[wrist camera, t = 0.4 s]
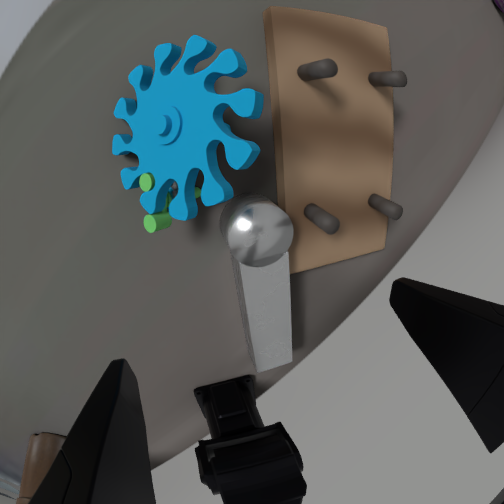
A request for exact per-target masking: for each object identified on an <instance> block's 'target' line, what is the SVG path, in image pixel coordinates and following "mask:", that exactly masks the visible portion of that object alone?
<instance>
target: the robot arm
mask: <svg viewBox="0 0 504 504" xmlns="http://www.w3.org/2000/svg"><path fill="white" fill-rule="evenodd" d="M389 301H390V305H391V307H392V308H393V309H394V311H395V313H396V314H397V316H398V318H399V319H400V321H401V322H402V324H403V325H404V327H405V329H406V330H407V332H408V333H409V335H410V336H411V338H412V339H413V341H414V342H415V343H416V345H417V346H418V347H419V348H420V350H421V351H422V353H423V354H424V355H425V356H426V358H427V359H428V361H429V362H430V363H431V365H432V366H433V367H434V369H435V370H436V371H437V373H438V374H439V376H440V377H441V379H442V380H443V381H444V383H445V384H446V386H447V387H448V388H449V390H450V391H451V393H452V394H453V396H454V397H455V399H456V400H457V402H458V403H459V405H460V406H461V408H462V409H463V411H464V412H465V414H466V415H467V417H468V419H469V420H470V422H471V423H472V425H473V427H474V428H475V430H476V431H477V433H478V435H479V436H480V438H481V439H482V441H483V443H484V445H485V446H486V448H487V449H488V451H489V452H490V453H492V452H493V451H494V450H496V449H497V448H498V447H499V446H500V445H501V444H502V443H503V442H504V305H500V304H496V303H493V302H490V301H486V300H482V299H479V298H476V297H472V296H469V295H465V294H462V293H458V292H454V291H451V290H447V289H444V288H440V287H436V286H433V285H429V284H426V283H422V282H419V281H415V280H411V279H408V278H399V279H397V280H395V281H394V282H393V284H392V289H391V294H390V299H389ZM194 395H195V397H196V399H197V402H198V404H199V406H200V408H201V410H202V413H203V415H204V417H205V418H206V419H207V423H208V427H209V430H210V434H211V438H212V439H210V440H199V441H198V442H199V446H198V447H196V448H195V452H196V457H197V461H198V467H199V474H200V479H201V482H202V483H203V484H205V485H207V486H208V487H209V489H211V491H212V493H213V495H216V494H221V497H222V500H223V503H224V504H301V503H302V498H303V496H305V495H306V489H307V485H306V482H305V480H304V478H303V476H302V473H301V472H302V471H303V462H302V458H301V455H300V453H299V451H298V449H297V447H296V445H295V444H294V442H293V441H292V439H291V438H290V436H289V434H288V433H287V432H286V430H285V428H284V427H283V425H282V423H281V422H277V423H275V424H273V425H269V426H266V427H264V424H263V422H262V419H261V417H260V415H259V412H258V410H257V407H256V400H255V394H254V387H253V380H252V377H251V376H249V375H247V376H243V377H240V378H236V379H232V380H228V381H225V382H221V383H217V384H212V385H208V386H204V387H200V388H196V389H194ZM61 449H62V450H61ZM61 449H60V450H59V452H58V454H57V456H56V458H55V459H54V461H53V463H52V465H51V467H50V468H49V470H48V472H47V474H46V475H45V477H44V479H43V480H42V482H41V483H40V485H39V487H38V488H37V490H36V491H35V493H34V494H33V496H32V498H31V499H30V501H29V502H28V504H156V500H155V495H154V489H153V483H152V476H151V469H150V462H149V454H148V445H147V435H146V426H145V421H144V416H143V411H142V405H141V400H140V394H139V388H138V382H137V379H136V376H135V374H134V373H133V371H132V369H131V367H130V366H129V364H128V362H127V361H126V360H125V359H117V360H113V361H111V363H110V364H109V366H108V367H107V369H106V371H105V372H104V374H103V375H102V377H101V379H100V380H99V382H98V384H97V385H96V387H95V389H94V390H93V392H92V394H91V395H90V397H89V399H88V400H87V402H86V404H85V405H84V407H83V409H82V411H81V412H80V414H79V416H78V418H77V419H76V421H75V423H74V425H73V426H72V428H71V430H70V432H69V434H68V435H67V437H66V439H65V441H64V443H63V445H62V446H61ZM490 504H504V488H503V489H502V491H501V492H500V493H499V494H498V495H497V496H496V497H495V498H494V500H493V501H492V502H491V503H490Z"/></svg>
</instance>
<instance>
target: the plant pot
mask: <svg viewBox="0 0 504 504" xmlns="http://www.w3.org/2000/svg"><path fill="white" fill-rule="evenodd" d="M65 439H66V437H64V436H61V435H56V434H50V433H40V434H39V435H35V434H33V435H32V436H31V437H30V440H29V445H28V449H27V454H26V459H25V464H24V469H23V475H22V481H21V487H20V494H19V498H17V502H16V504H28V502H29V501H30V499H31V498H32V496H33V494H34V493H35V491H36V490H37V488H38V487H39V485H40V483H41V482H42V480H43V479H44V477H45V475H46V474H47V472H48V470H49V468H50V467H51V465H52V463H53V461H54V459H55V458H56V456H57V454H58V452H59V450H60V449H61V446H62V445H63V443H64V441H65ZM61 450H62V449H61Z"/></svg>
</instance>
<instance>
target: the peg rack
mask: <svg viewBox="0 0 504 504" xmlns="http://www.w3.org/2000/svg"><path fill="white" fill-rule="evenodd" d="M263 21H264V30H265V40H266V50H267V61H268V72H269V83H270V95H271V108H272V121H273V135H274V149H275V165H276V181H277V199H278V207H279V208H281V209H282V210H283V211H284V212H285V213H286V214H287V215H288V216H289V218H290V219H291V222H292V225H293V239H292V242H291V245H290V247H289V249H288V254H289V274H293V273H297V272H301V271H304V270H308V269H312V268H316V267H320V266H323V265H327V264H331V263H335V262H338V261H342V260H345V259H349V258H353V257H356V256H360V255H363V254H367V253H371V252H374V251H378V250H381V249H384V247H385V240H386V232H387V224H388V217H390V218H392V219H394V220H398V219H399V218H400V217H401V216H402V213H403V208H402V206H400V205H398V204H396V203H394V202H392V201H390V194H391V181H392V164H393V87H405V86H406V84H407V77H406V75H405V73H404V72H402V71H391V59H390V49H389V40H388V32H387V28H386V27H383V26H380V25H376V24H373V23H369V22H365V21H362V20H358V19H353V18H349V17H345V16H340V15H335V14H330V13H324V12H318V11H312V10H305V9H297V8H288V7H277V6H270V7H269V8H267V9H266V10H265V11H264V12H263Z"/></svg>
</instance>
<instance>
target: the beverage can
mask: <svg viewBox="0 0 504 504" xmlns="http://www.w3.org/2000/svg"><path fill="white" fill-rule="evenodd" d="M493 1H494V3H495V4H496V5H497V6H498V7H499V9H500V10H501V11H502V12H503V13H504V0H493Z"/></svg>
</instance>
